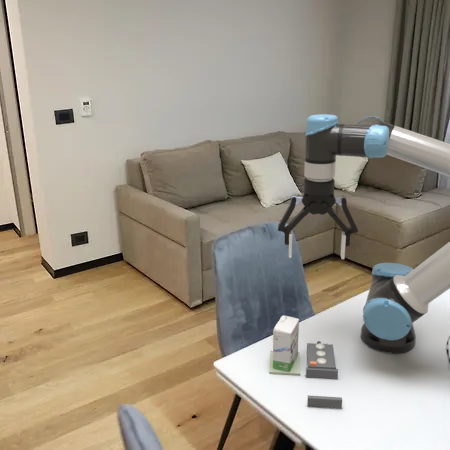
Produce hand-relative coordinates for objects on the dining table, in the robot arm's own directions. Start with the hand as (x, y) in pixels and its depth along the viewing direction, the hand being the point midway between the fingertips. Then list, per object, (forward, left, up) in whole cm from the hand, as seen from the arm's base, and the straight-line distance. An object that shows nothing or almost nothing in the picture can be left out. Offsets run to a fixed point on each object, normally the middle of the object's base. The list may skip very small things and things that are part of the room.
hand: (316, 256), depth 136 cm
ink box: (+7, +7, -28) cm, 30 cm away
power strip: (-2, +10, -29) cm, 31 cm away
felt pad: (+8, +7, -29) cm, 30 cm away
